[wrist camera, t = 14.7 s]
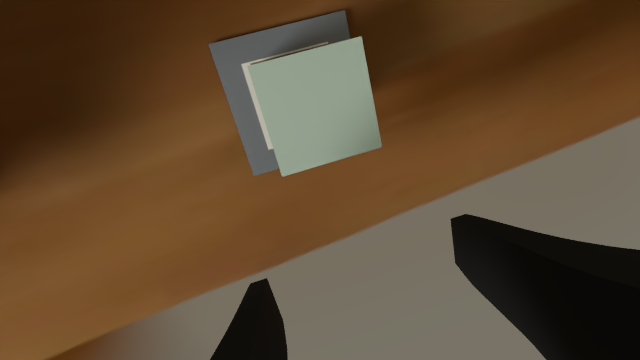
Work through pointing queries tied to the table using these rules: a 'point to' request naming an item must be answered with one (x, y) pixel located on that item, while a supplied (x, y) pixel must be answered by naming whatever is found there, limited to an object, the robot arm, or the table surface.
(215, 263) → the table surface
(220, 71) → the grey flat square tile
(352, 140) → the sage block
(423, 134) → the table surface
